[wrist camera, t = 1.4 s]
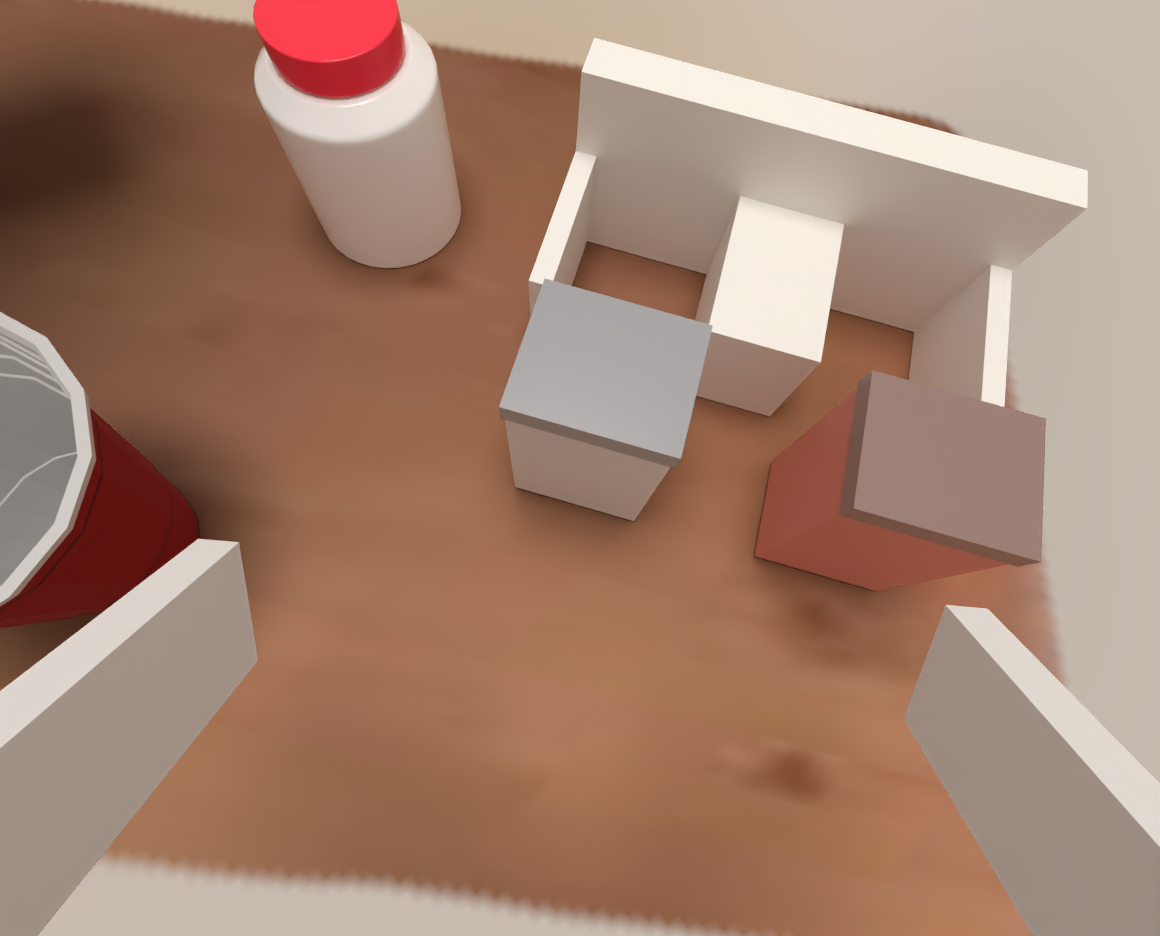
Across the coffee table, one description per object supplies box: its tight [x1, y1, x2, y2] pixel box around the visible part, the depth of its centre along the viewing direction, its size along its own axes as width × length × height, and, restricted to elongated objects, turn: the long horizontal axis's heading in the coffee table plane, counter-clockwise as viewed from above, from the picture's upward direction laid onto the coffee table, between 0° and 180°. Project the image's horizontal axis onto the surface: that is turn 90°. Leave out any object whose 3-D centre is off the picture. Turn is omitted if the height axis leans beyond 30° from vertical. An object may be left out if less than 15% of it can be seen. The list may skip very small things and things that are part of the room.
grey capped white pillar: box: [499, 279, 713, 521], centre depth 25 cm, size 6×5×10 cm
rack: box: [529, 38, 1088, 417], centre depth 28 cm, size 21×10×10 cm, turn 74°
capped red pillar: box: [754, 370, 1046, 591], centre depth 25 cm, size 6×5×10 cm
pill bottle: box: [253, 0, 461, 268], centre depth 28 cm, size 8×8×11 cm
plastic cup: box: [0, 312, 199, 628], centre depth 22 cm, size 11×11×12 cm
